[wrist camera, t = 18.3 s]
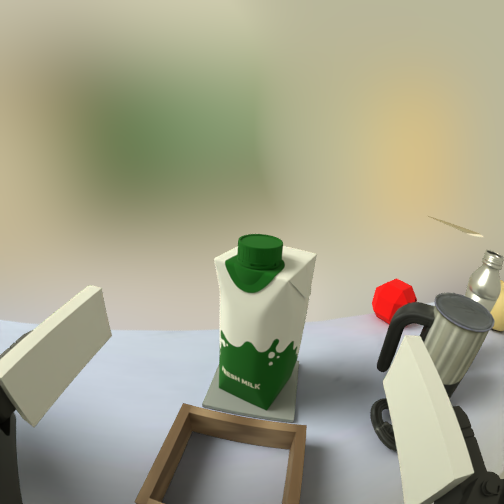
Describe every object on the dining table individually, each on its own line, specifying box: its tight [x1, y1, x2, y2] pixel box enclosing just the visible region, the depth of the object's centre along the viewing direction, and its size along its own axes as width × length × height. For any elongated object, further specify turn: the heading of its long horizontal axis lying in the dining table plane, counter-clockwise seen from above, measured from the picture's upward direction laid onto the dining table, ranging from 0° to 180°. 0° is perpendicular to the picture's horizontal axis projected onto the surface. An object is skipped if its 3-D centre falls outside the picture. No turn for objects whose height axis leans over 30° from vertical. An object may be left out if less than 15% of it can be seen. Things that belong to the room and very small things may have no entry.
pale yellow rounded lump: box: [490, 280, 504, 331], centre depth 44 cm, size 11×12×11 cm
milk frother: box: [370, 293, 495, 451], centre depth 26 cm, size 14×16×15 cm
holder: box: [135, 403, 307, 504], centre depth 19 cm, size 13×13×4 cm
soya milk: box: [214, 234, 317, 411], centre depth 30 cm, size 9×9×20 cm
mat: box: [202, 361, 299, 423], centre depth 34 cm, size 11×11×1 cm
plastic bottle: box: [465, 250, 504, 312], centre depth 33 cm, size 6×7×20 cm
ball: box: [372, 279, 417, 324], centre depth 49 cm, size 8×8×8 cm
